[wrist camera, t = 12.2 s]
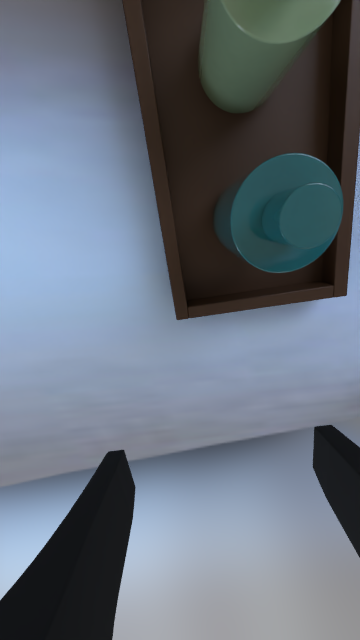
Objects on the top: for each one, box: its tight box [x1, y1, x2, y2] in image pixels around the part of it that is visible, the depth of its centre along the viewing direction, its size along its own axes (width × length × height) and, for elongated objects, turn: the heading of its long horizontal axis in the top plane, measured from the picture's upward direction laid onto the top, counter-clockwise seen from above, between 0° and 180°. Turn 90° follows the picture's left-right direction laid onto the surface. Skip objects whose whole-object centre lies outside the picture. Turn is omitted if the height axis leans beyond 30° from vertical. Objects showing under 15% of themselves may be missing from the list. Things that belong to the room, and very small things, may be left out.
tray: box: [122, 0, 360, 320], centre depth 13 cm, size 11×26×2 cm, turn 9°
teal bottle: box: [213, 153, 343, 273], centre depth 12 cm, size 4×4×8 cm
